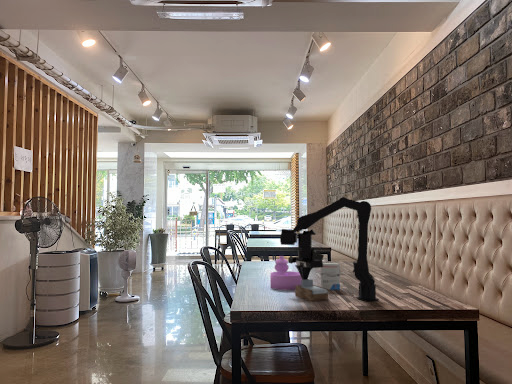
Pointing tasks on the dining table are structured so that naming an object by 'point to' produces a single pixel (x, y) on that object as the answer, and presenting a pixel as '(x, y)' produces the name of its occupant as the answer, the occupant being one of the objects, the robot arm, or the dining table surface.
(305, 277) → the robot arm
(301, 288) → the case
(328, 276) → the ink box
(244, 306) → the dining table surface
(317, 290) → the lid
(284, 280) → the container set
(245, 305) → the dining table surface
